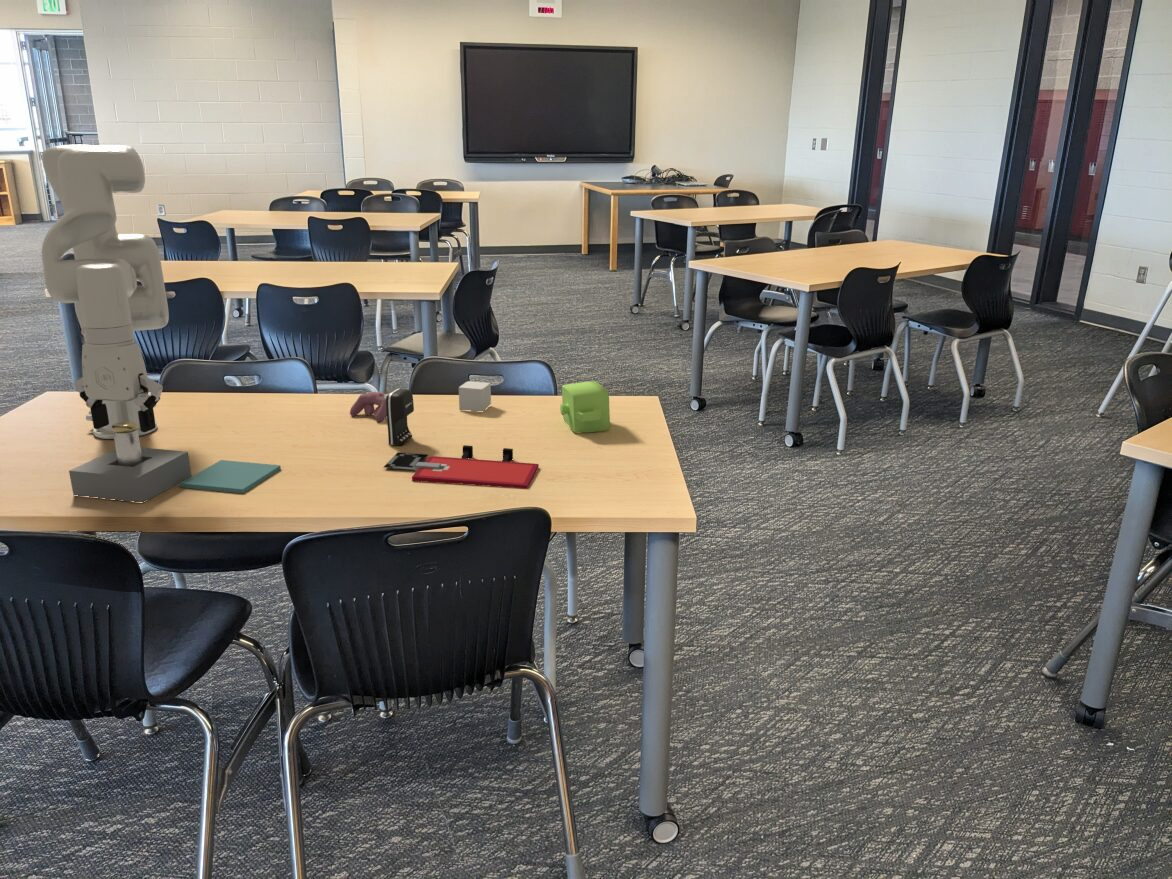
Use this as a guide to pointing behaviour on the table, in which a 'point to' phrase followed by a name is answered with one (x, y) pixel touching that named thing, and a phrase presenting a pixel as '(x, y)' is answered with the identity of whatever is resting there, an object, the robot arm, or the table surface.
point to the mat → (230, 476)
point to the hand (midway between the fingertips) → (125, 428)
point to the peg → (127, 444)
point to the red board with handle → (467, 469)
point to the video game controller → (370, 405)
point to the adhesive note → (474, 396)
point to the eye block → (131, 475)
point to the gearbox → (585, 407)
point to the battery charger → (399, 415)
